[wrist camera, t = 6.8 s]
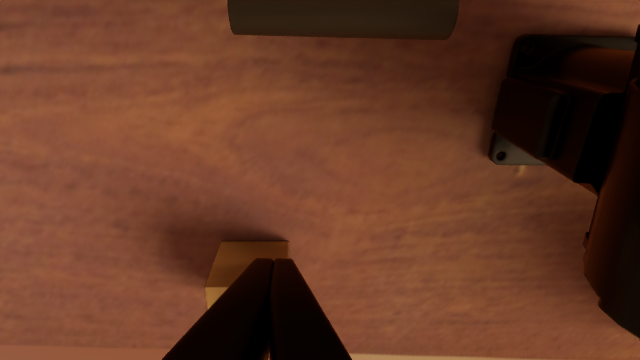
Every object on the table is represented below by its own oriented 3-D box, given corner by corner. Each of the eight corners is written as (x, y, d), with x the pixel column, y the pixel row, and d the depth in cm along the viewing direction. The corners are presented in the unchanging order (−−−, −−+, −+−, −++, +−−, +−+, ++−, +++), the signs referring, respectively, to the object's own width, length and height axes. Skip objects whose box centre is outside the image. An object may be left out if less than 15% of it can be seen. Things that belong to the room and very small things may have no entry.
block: (289, 241, 22) (286, 286, 18) (289, 293, 24) (287, 345, 20) (220, 241, 22) (204, 287, 18) (226, 294, 23) (212, 346, 20)
